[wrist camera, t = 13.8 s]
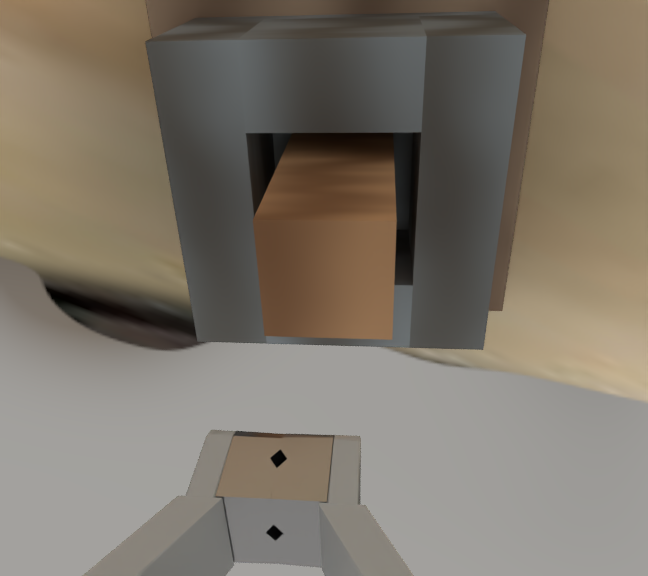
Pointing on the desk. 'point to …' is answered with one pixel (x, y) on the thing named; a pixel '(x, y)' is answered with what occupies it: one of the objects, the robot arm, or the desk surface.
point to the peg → (329, 238)
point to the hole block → (350, 117)
